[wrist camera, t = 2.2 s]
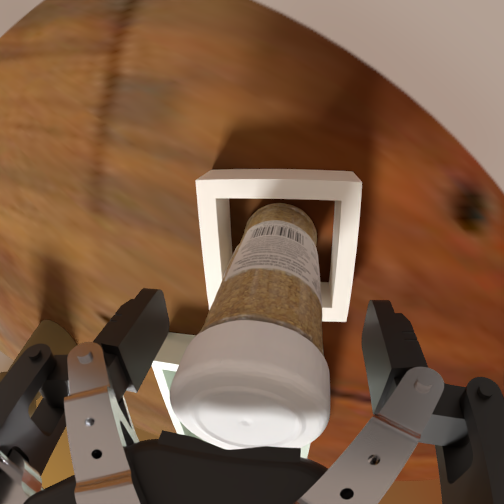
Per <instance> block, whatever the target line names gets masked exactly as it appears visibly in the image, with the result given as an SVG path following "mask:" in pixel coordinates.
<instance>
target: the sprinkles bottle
mask: <svg viewBox="0 0 504 504" xmlns="http://www.w3.org/2000/svg"><path fill="white" fill-rule="evenodd" d="M316 243H317V233H316V229H315V226H314V224H313V222H312V220H311V219H310V217H309V216H308V215H307V214H306V213H305V212H304V211H303V210H301V209H300V208H298V207H295V206H293V205H290V204H285V203H273V204H268V205H266V206H264V207H262V208H260V209H258V210H257V211H256V212H255V213H254V214H253V215H252V216H251V217H250V218H249V220H248V222H247V225H246V227H245V230H244V235H243V237H242V239H241V242H240V244H239V245H238V246H237V247H236V249H235V251H234V253H233V255H232V257H231V260H230V262H229V264H228V266H227V268H226V271H225V273H224V278H223V280H222V282H221V285H220V287H219V290H218V292H217V294H216V297H215V299H214V302H213V303H212V305H211V308H210V310H209V313H208V316H207V318H206V321H205V324H204V325H203V327H202V329H201V331H200V332H199V333H198V334H197V335H196V336H195V337H194V338H193V340H192V341H191V342H190V344H189V345H188V346H187V348H186V350H185V352H184V355H183V357H182V359H181V361H180V364H179V366H178V369H177V371H176V373H175V376H174V378H173V381H172V384H171V387H170V403H171V406H172V409H173V412H174V413H175V415H176V416H177V418H178V419H179V421H180V422H181V423H182V424H183V425H184V426H185V427H186V428H187V429H188V430H190V431H191V432H192V433H193V434H195V435H196V436H198V437H200V438H201V439H203V440H205V441H207V442H209V443H211V444H213V445H215V446H218V447H221V448H224V449H227V450H233V449H244V448H254V447H262V446H270V447H286V448H301V447H303V446H306V445H308V444H309V443H311V442H312V441H314V440H315V439H316V438H317V437H318V436H320V435H321V433H322V432H323V431H324V429H325V428H326V426H327V423H328V421H329V417H330V373H329V368H328V364H327V362H326V360H325V358H324V353H323V339H322V298H321V285H320V271H319V261H318V253H317V249H316Z"/></svg>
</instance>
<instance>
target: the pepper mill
mask: <svg viewBox="0 0 504 504" xmlns="http://www.w3.org/2000/svg"><path fill="white" fill-rule="evenodd" d="M35 344H46V345H48V346H49V347H50V349H51V351H52V353H53V355H68V354H69V352H70V351H71V350H72V349H73V348H74V347H76V346H77V345H76V343H75V341H74V340H73V338H72V337H71V336H70V335H69V333H68V332H67V331H66V330H65V329H64V328H62V327H61V326H60V325H58V324H57V323H55V322H53V321H51V320H43V321H41V323H40V324H39V326H38V327H37V328H36V330H35V331H34V333H33V334H32V335H31V337H30V338H29V340H28V341H27V343H26V344H25V346H24V347H23V349H22V350H21V351H20V353H19V354H18V356H17V358H16V359H15V361H14V362H13V364H12V365H11V367H12V366H13V365H14V364H15V362H16V361H17V360H18V359H19V357H20V356H21V355H22V354H23V352H24V351H25V350H26V349H27V348H29V347H30V346H32V345H35ZM11 367H10V368H9V370H10V369H11ZM9 370H8V371H9ZM7 373H8V372H1V373H0V382H1V381H2V379H3V378H4V377H5V375H6V374H7ZM40 396H41V393H40V392H39V391H38V393H37V394H36V396H35V397H34V399H33V400H32V402H31V404H30V405H29V409H28V413H29V416H30V417H32V415H33V413H34V412H35V409H36V400H37V399H38V398H39V397H40Z"/></svg>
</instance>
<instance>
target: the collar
mask: <svg viewBox="0 0 504 504" xmlns="http://www.w3.org/2000/svg"><path fill="white" fill-rule="evenodd" d="M196 190H197V202H198V213H199V223H200V233H201V243H202V253H203V262H204V270H205V279H206V287H207V296H208V303H209V310H210V308H211V305H212V303H213V302H214V299H215V297H216V294H217V292H218V290H219V287H220V285H221V282H222V280H223V278H224V273H225V271H226V268H227V266H228V264H229V262H230V260H231V257H232V255H233V254H232V238H231V222H230V205H229V198H261V199H309V200H335V209H334V226H333V240H332V253H331V265H330V276H329V282H320V285H321V298H322V321H330V322H346V321H347V315H348V309H349V302H350V296H351V289H352V282H353V274H354V266H355V258H356V250H357V240H358V230H359V220H360V208H361V194H362V181H361V180H360V179H359V178H358V177H357V176H356V175H355V173H354V172H353V171H334V170H306V169H220V170H210V171H209V172H207V173H206V174H204V175H203V176H201V177H200V178H198V179H197V180H196Z"/></svg>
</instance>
